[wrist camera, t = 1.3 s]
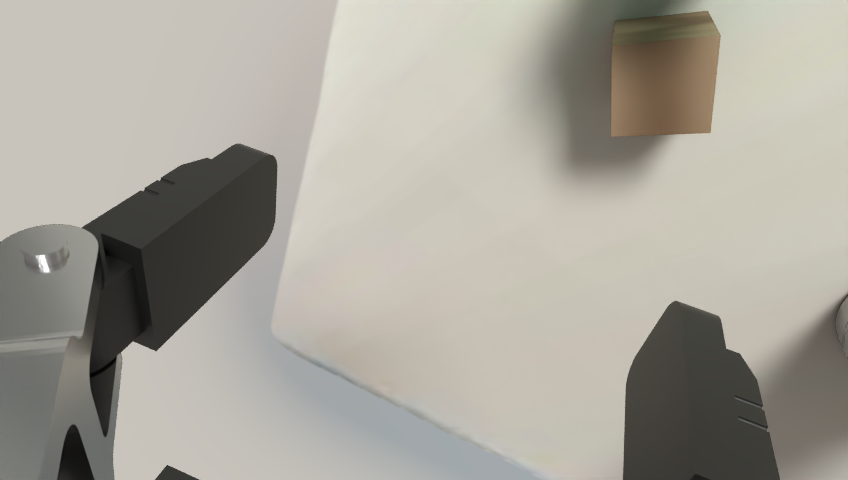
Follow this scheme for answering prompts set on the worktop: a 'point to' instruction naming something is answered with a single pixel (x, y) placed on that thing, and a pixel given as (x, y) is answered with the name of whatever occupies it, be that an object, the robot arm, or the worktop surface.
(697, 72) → the walnut block
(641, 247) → the worktop surface
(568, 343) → the worktop surface
